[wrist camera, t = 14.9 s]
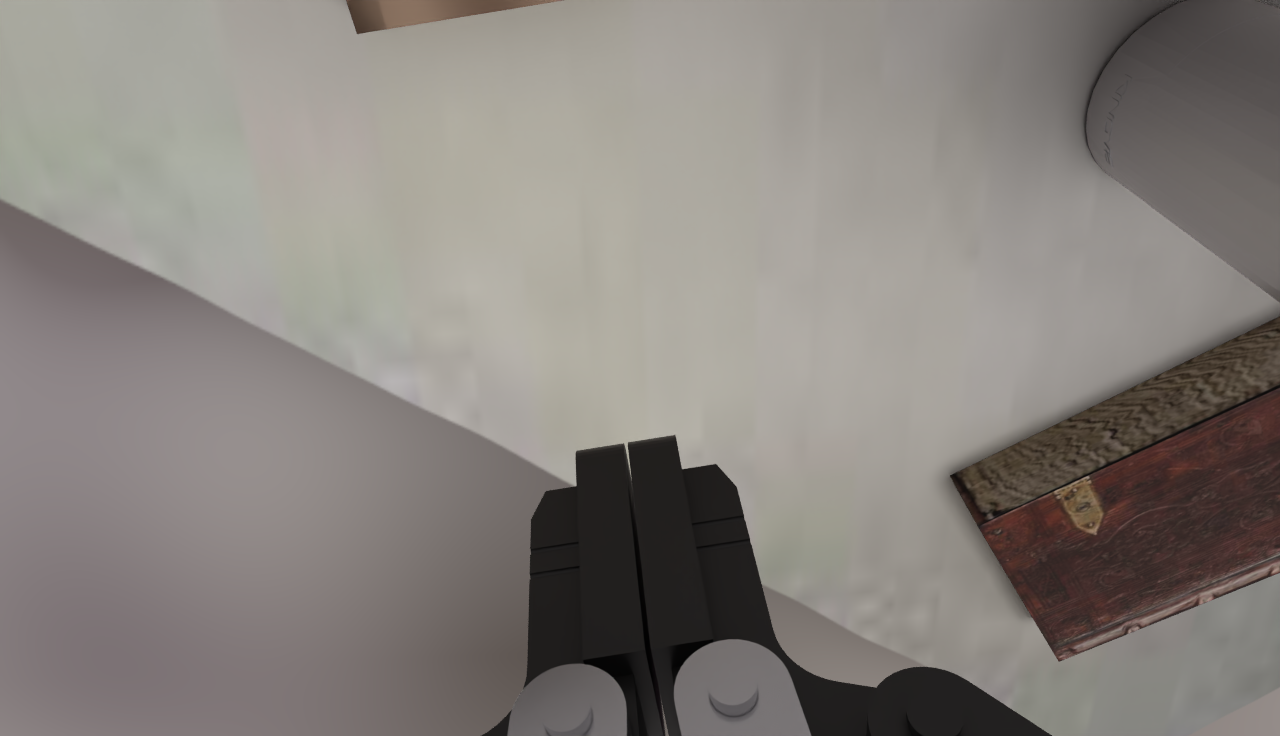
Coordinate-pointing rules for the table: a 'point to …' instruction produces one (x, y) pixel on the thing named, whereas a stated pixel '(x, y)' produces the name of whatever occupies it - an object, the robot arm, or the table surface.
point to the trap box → (422, 11)
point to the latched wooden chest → (1141, 498)
